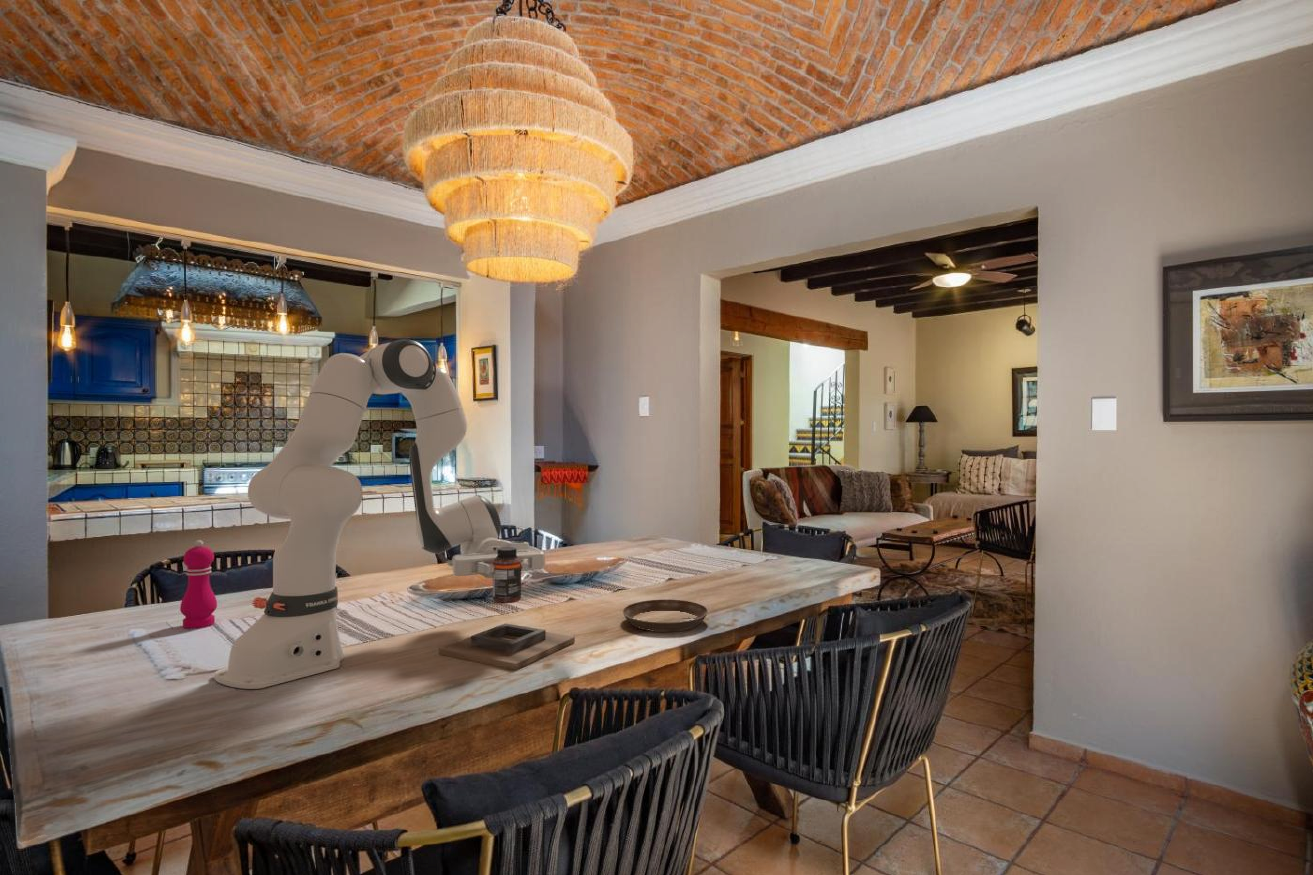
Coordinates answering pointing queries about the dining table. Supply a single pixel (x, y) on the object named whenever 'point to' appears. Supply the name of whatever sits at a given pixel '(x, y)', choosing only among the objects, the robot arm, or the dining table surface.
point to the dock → (507, 646)
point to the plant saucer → (666, 606)
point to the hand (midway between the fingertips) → (508, 568)
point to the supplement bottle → (507, 576)
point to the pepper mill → (198, 588)
